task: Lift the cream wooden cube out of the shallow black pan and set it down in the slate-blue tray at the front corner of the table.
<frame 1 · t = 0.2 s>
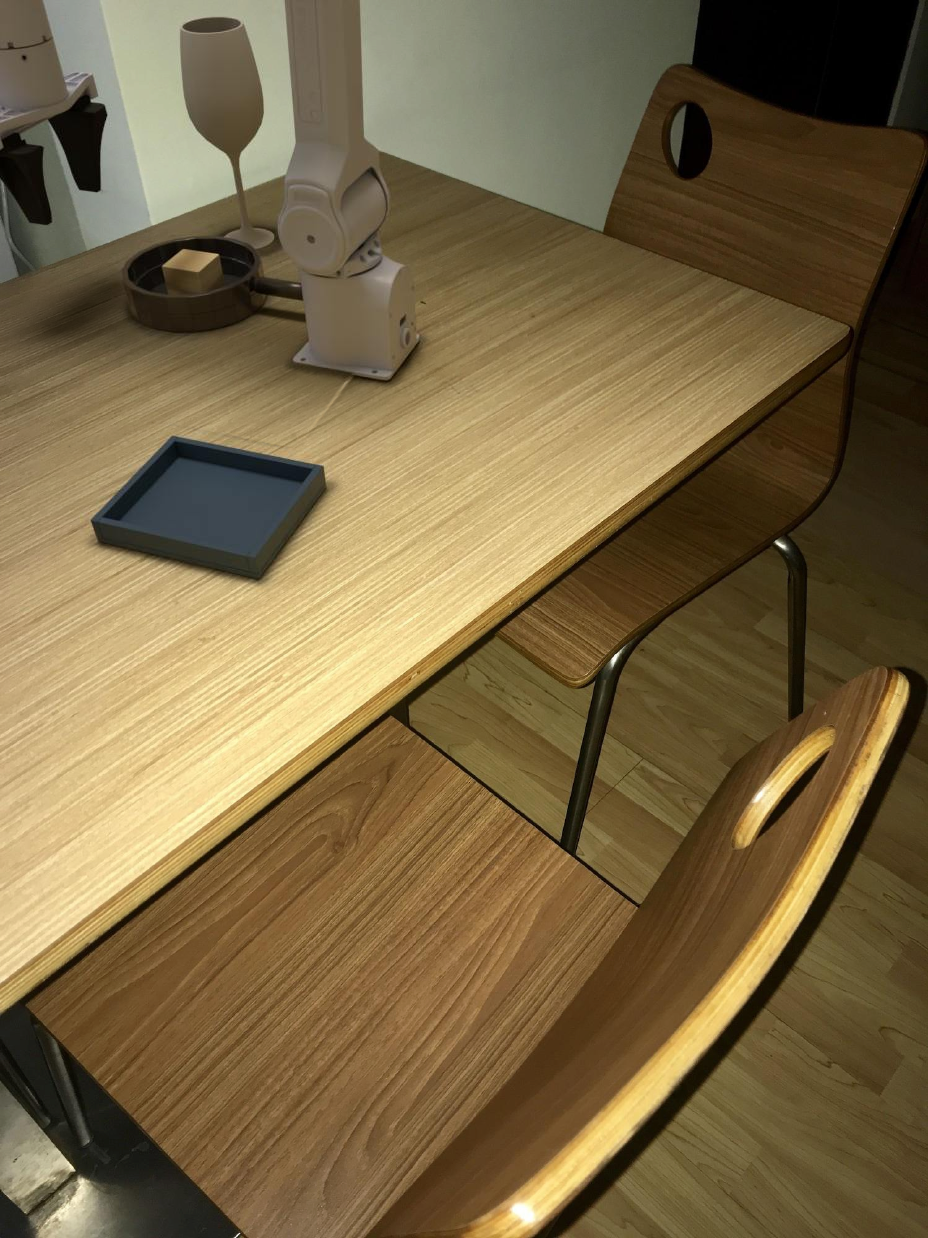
hand: (66, 205, 91), 10 cm above the table, tool pointing down, fingers open, 7 cm apart
wineglass: (249, 244, 108), on the table
cube: (199, 298, 98), resting on pan
pan: (200, 303, 98), on the table
tray: (215, 513, 74), on the table
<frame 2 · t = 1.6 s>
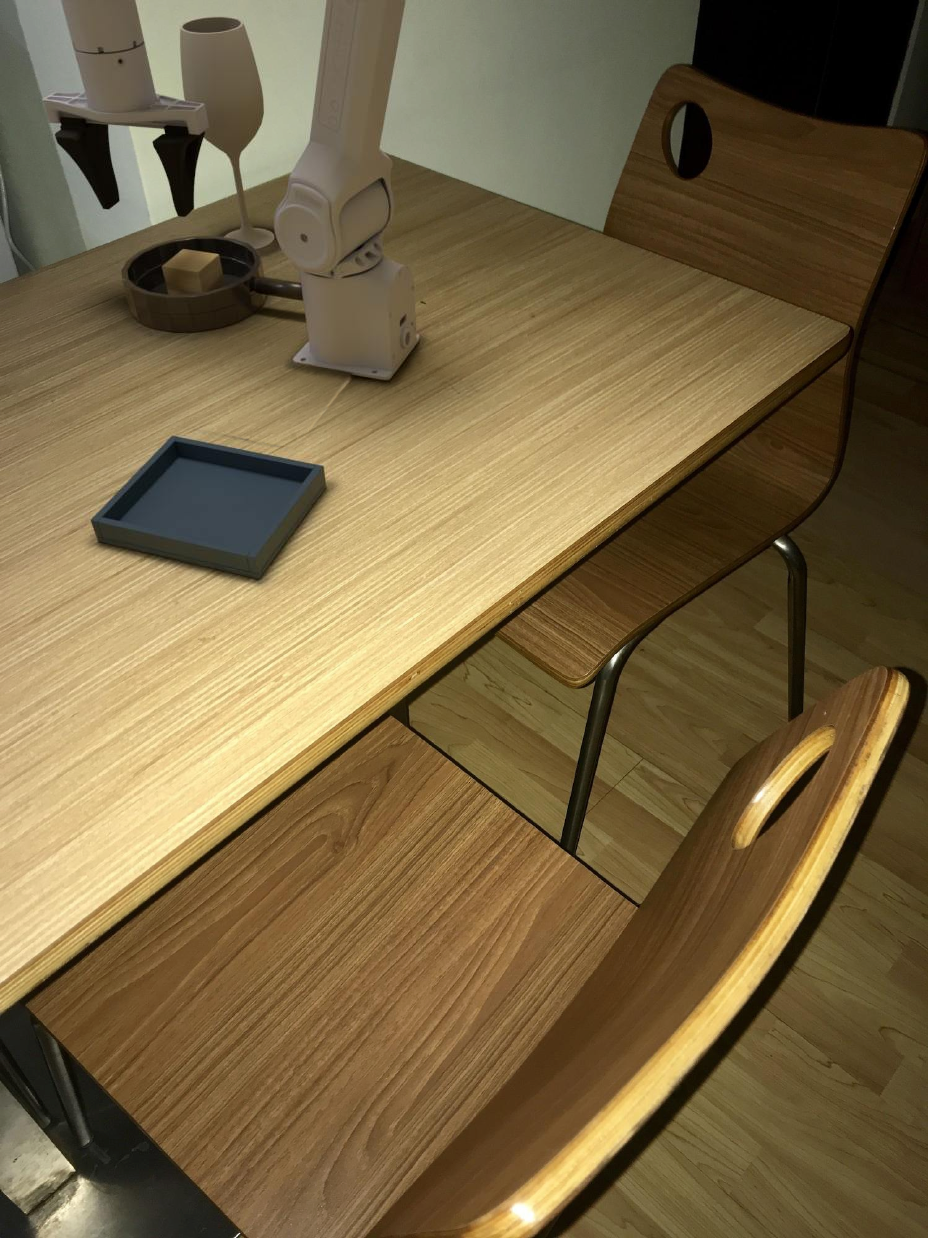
hand: (148, 208, 92), 10 cm above the table, tool pointing down, fingers open, 7 cm apart
nothing on the table moved.
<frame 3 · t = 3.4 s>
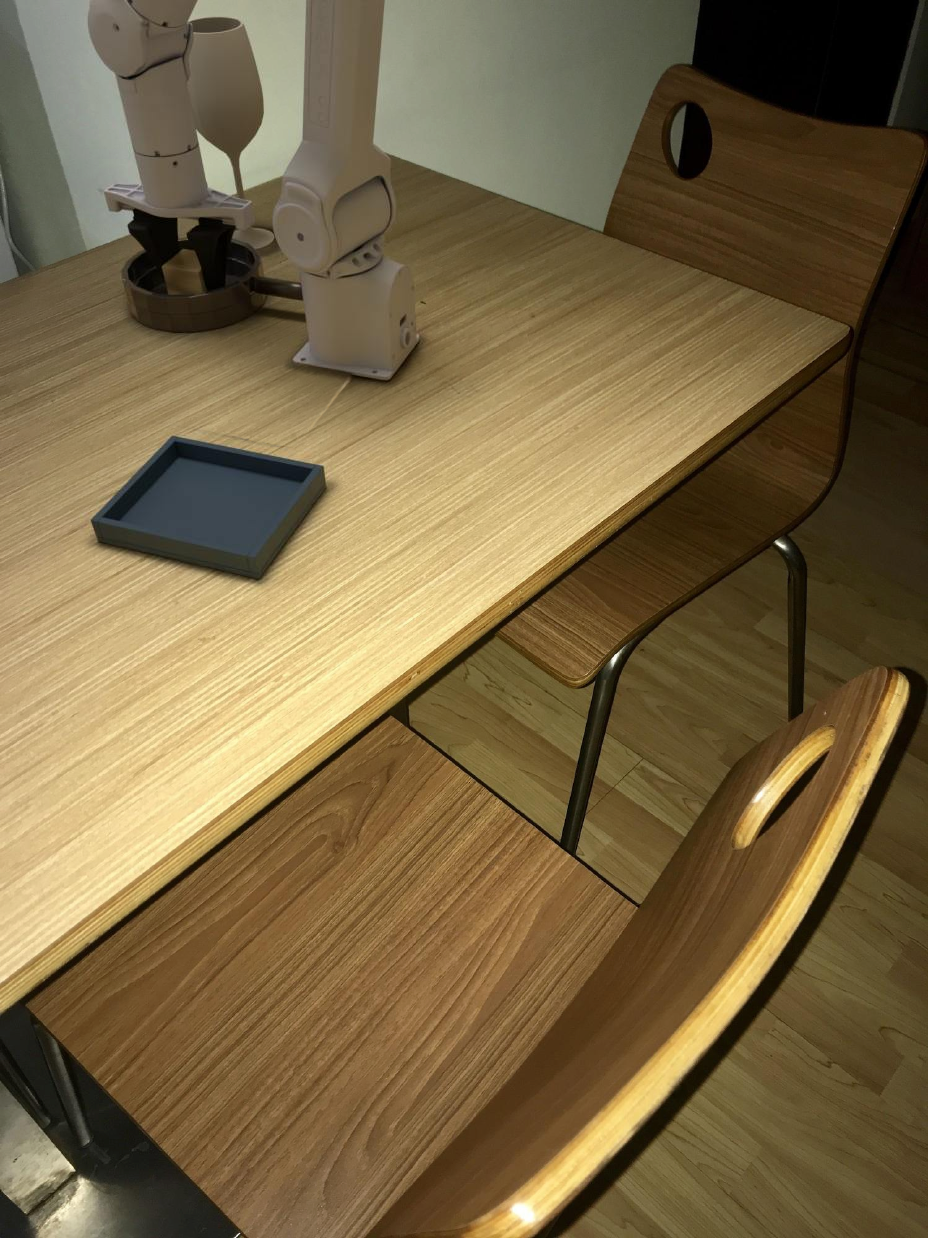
hand: (197, 290, 97), 1 cm above the table, tool pointing down, fingers closed on cube, 4 cm apart
cube: (199, 298, 98), resting on pan, touching gripper
everything else where it was.
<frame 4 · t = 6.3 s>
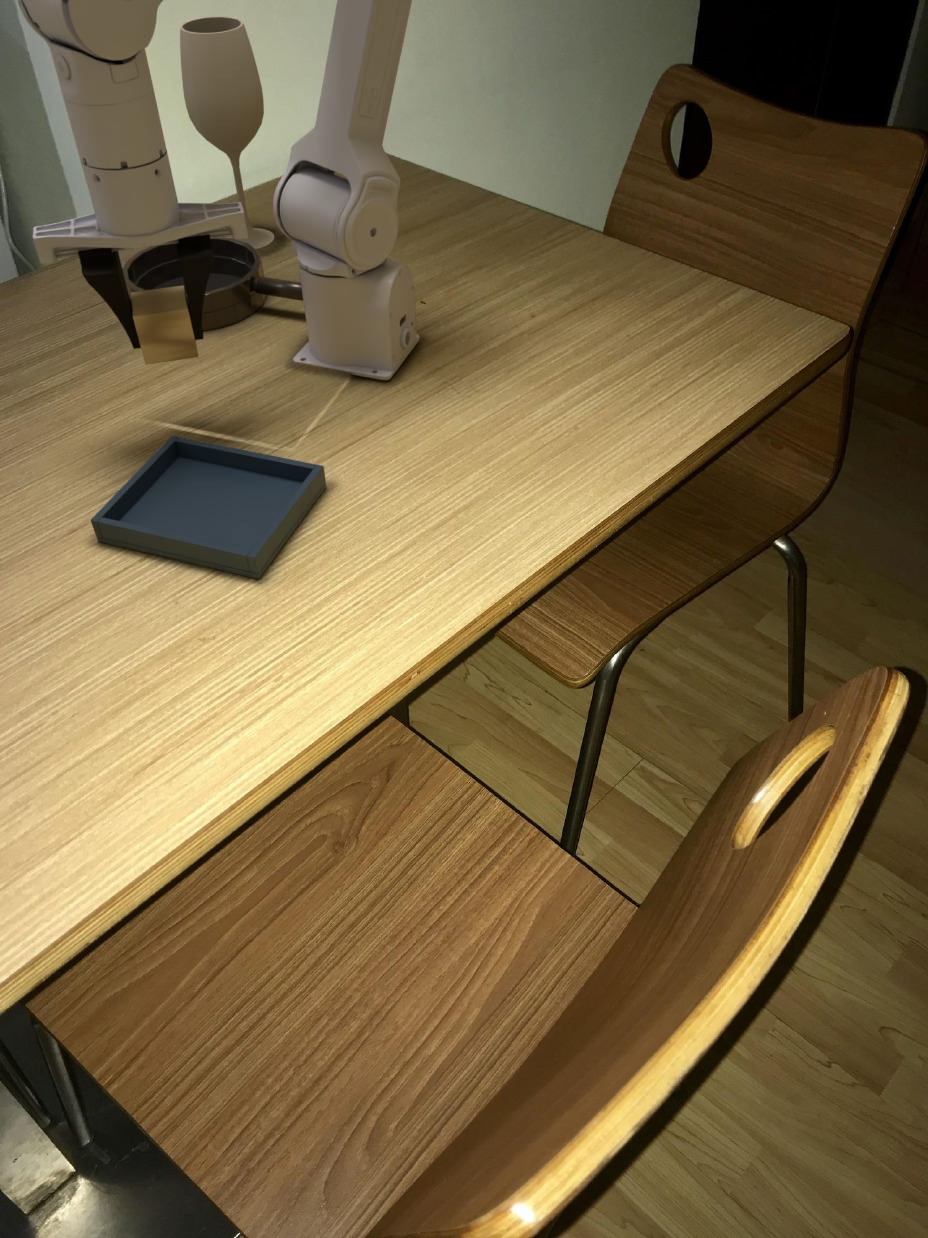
hand: (168, 337, 77), 8 cm above the table, tool pointing down, fingers closed on cube, 4 cm apart
cube: (170, 348, 77), point 8 cm above the table, touching gripper
everything else where it was.
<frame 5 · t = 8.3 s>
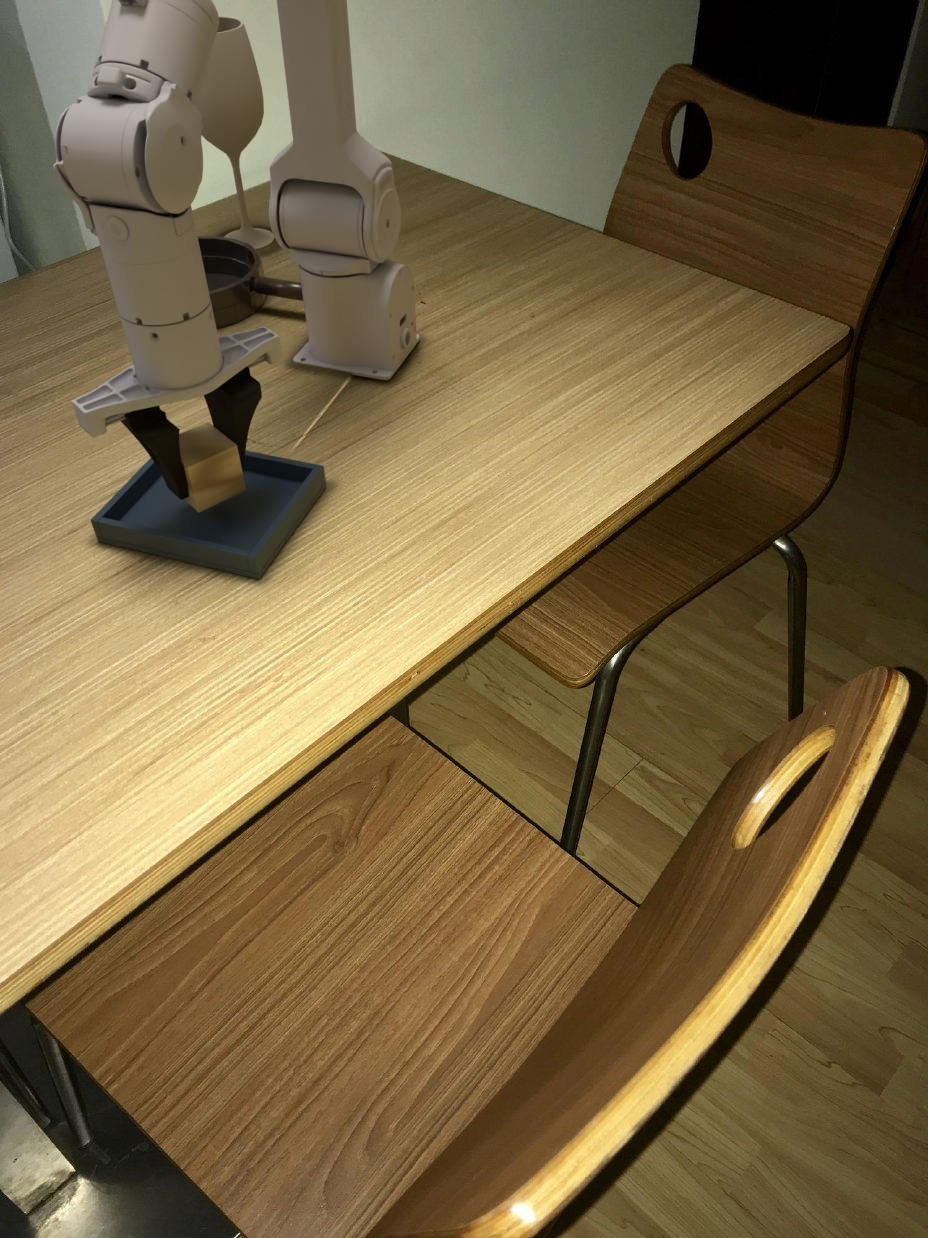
hand: (206, 478, 72), 3 cm above the table, tool pointing down, fingers closed on cube, 4 cm apart
cube: (209, 489, 73), point 2 cm above the table, touching gripper
everything else where it was.
when the fingers open (1 cm above the table, at t = 9.3 s): cube stays where it is, resting on tray.
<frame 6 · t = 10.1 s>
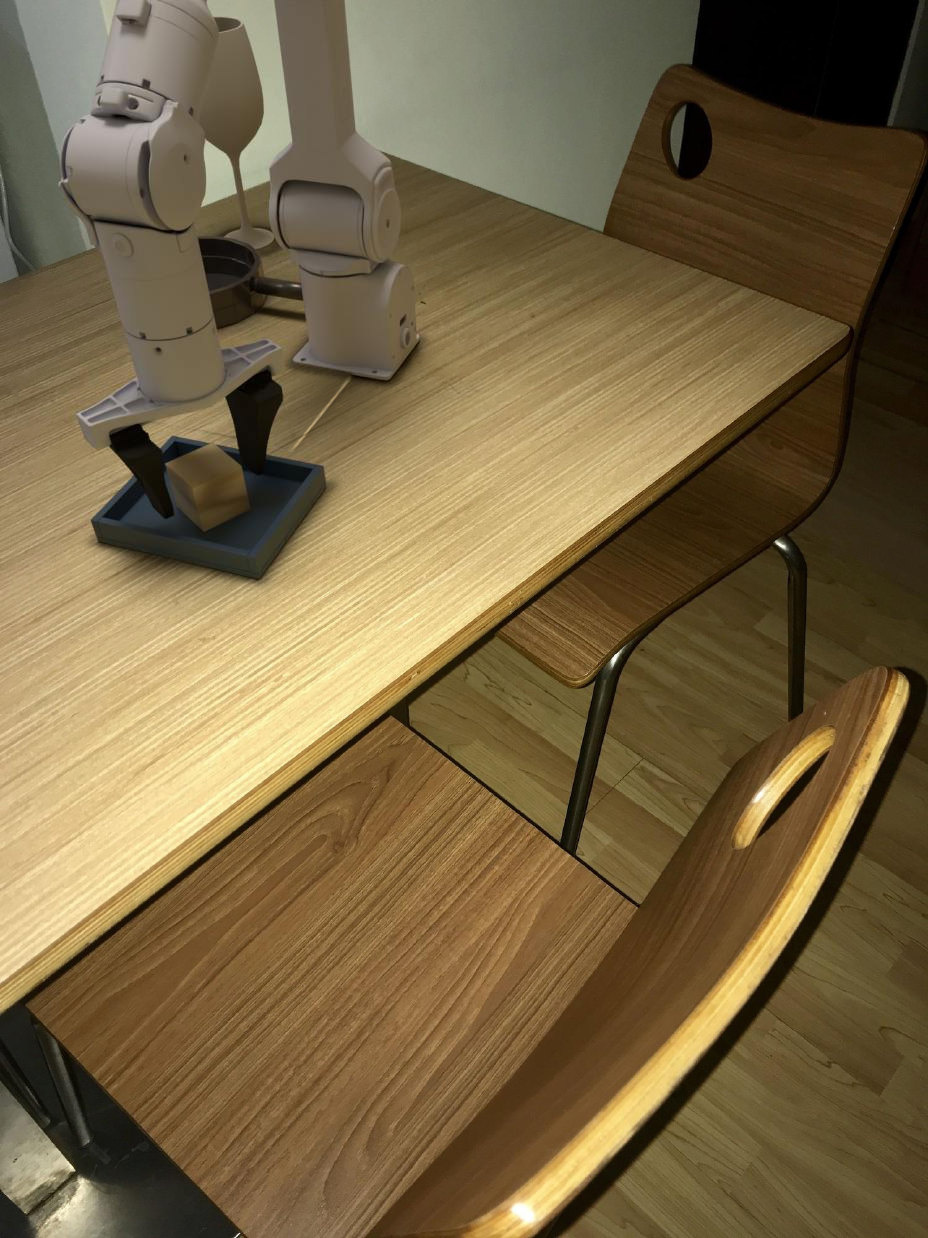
hand: (209, 489, 73), 2 cm above the table, tool pointing down, fingers open, 7 cm apart
cube: (213, 508, 74), resting on tray
everything else where it was.
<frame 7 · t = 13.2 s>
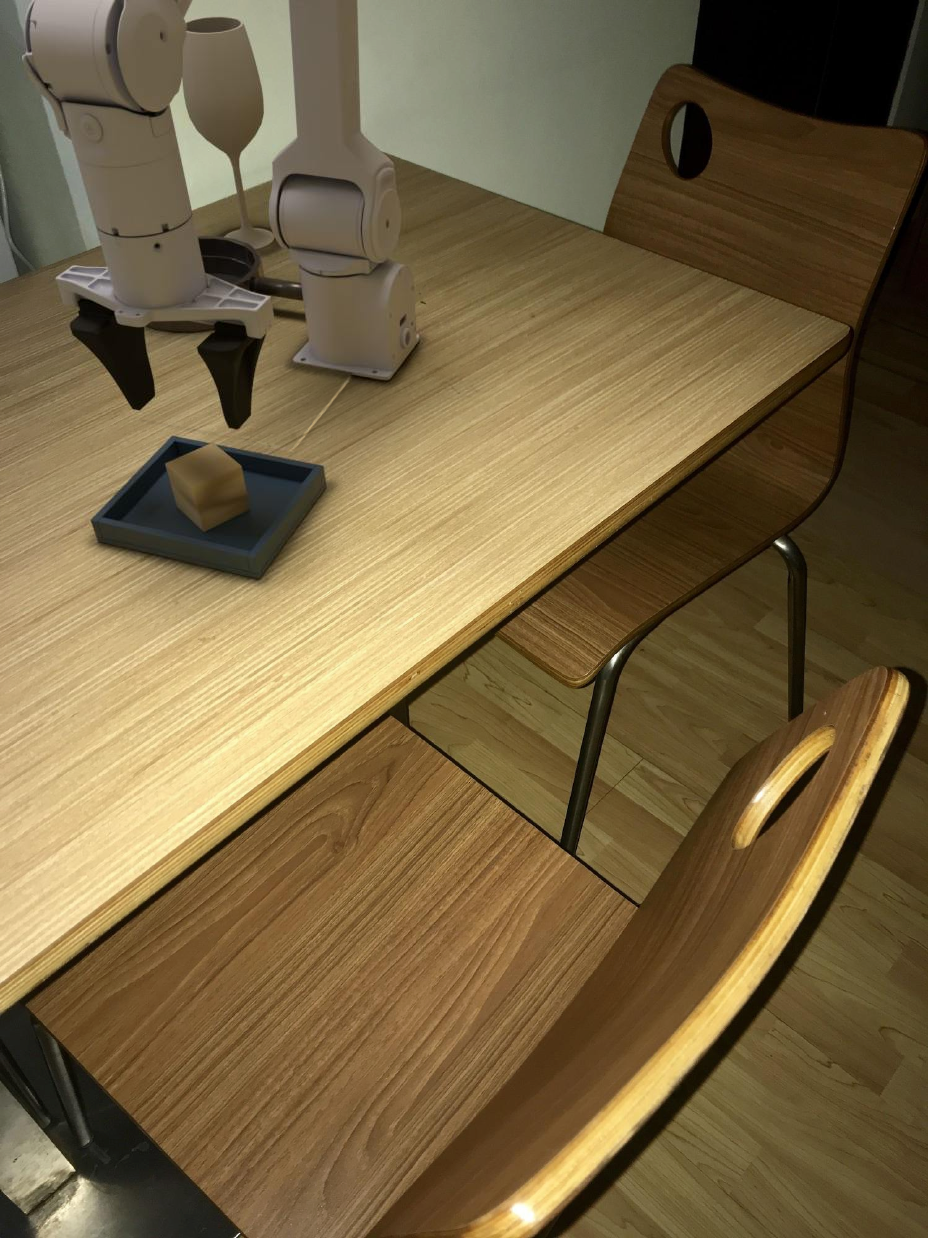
hand: (191, 411, 69), 8 cm above the table, tool pointing down, fingers open, 7 cm apart
nothing on the table moved.
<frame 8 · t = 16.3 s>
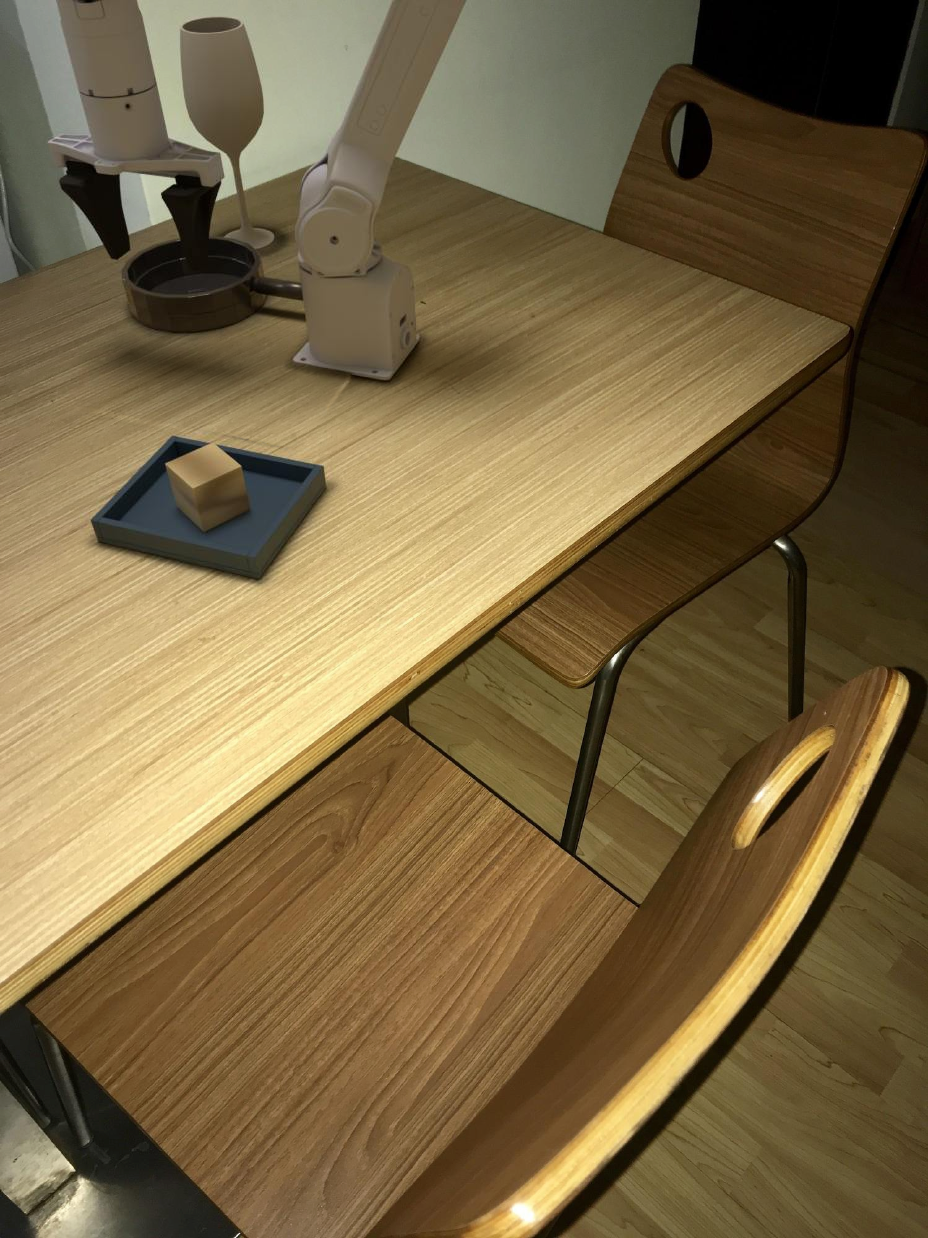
hand: (159, 260, 84), 9 cm above the table, tool pointing down, fingers open, 7 cm apart
nothing on the table moved.
at the end: cube inside the target area in the tray (0.1 cm from its centre), point 0.5 cm above the tray's base; cube tilted 0° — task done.
